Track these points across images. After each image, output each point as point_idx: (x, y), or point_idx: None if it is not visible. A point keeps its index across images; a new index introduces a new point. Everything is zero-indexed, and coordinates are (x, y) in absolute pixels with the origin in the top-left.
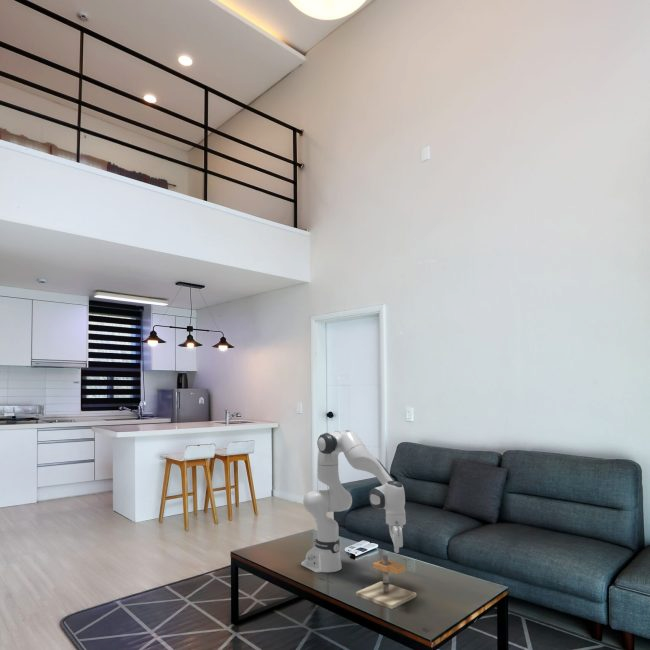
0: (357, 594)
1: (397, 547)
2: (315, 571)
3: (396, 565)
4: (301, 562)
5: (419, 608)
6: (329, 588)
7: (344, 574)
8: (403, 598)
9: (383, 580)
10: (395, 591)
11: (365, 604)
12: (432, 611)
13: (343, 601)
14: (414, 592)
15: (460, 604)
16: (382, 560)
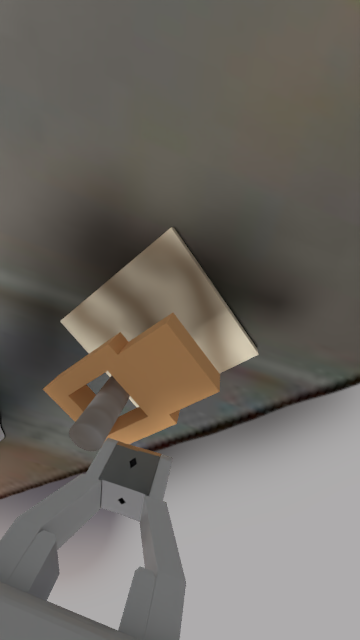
0: None
1: (170, 540)
2: (1, 439)
3: (150, 368)
4: None
5: (276, 253)
6: None
7: (3, 385)
8: (212, 297)
9: None
10: (147, 303)
11: (201, 400)
12: (322, 207)
13: (172, 437)
14: (164, 234)
15: (301, 5)
16: (67, 404)
